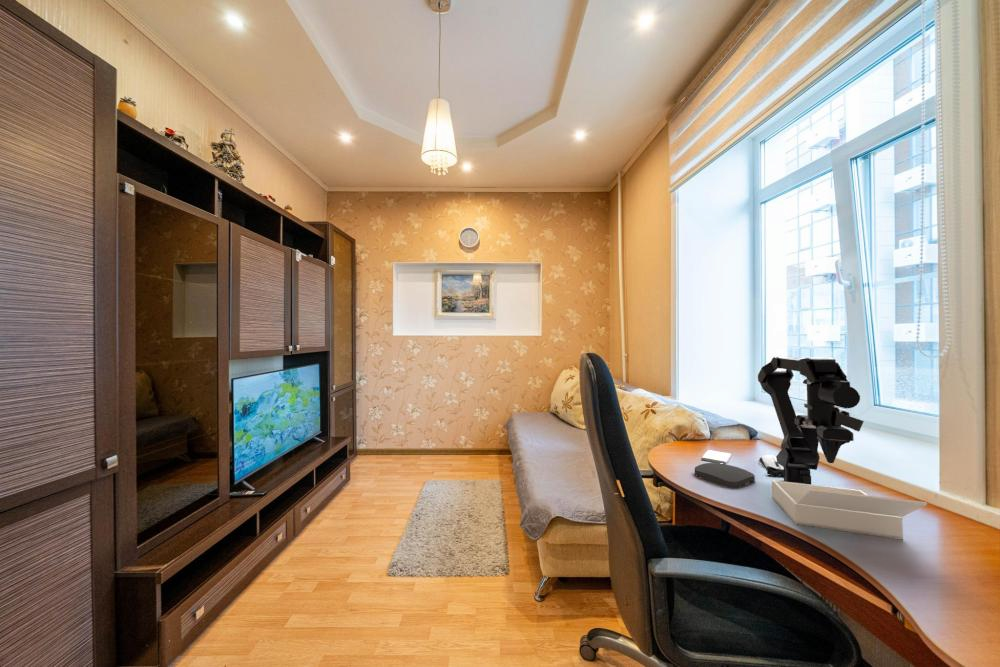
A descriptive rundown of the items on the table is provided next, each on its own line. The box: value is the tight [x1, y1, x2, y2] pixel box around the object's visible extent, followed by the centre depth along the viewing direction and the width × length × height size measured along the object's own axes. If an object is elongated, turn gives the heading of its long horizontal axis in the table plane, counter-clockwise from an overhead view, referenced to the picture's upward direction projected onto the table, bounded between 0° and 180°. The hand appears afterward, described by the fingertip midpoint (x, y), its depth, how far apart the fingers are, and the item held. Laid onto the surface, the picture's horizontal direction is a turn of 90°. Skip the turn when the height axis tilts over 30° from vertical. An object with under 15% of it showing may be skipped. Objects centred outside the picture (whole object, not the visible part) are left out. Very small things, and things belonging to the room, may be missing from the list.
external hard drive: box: [701, 449, 732, 465], centre depth 138 cm, size 2×8×12 cm
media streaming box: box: [694, 462, 756, 489], centre depth 118 cm, size 15×15×3 cm
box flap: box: [796, 489, 928, 518], centre depth 81 cm, size 1×20×10 cm
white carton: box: [771, 479, 904, 540], centre depth 92 cm, size 16×20×5 cm
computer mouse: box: [758, 454, 784, 478], centre depth 126 cm, size 10×18×4 cm, turn 162°
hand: (822, 457), depth 99 cm, fingers open, 9 cm apart
